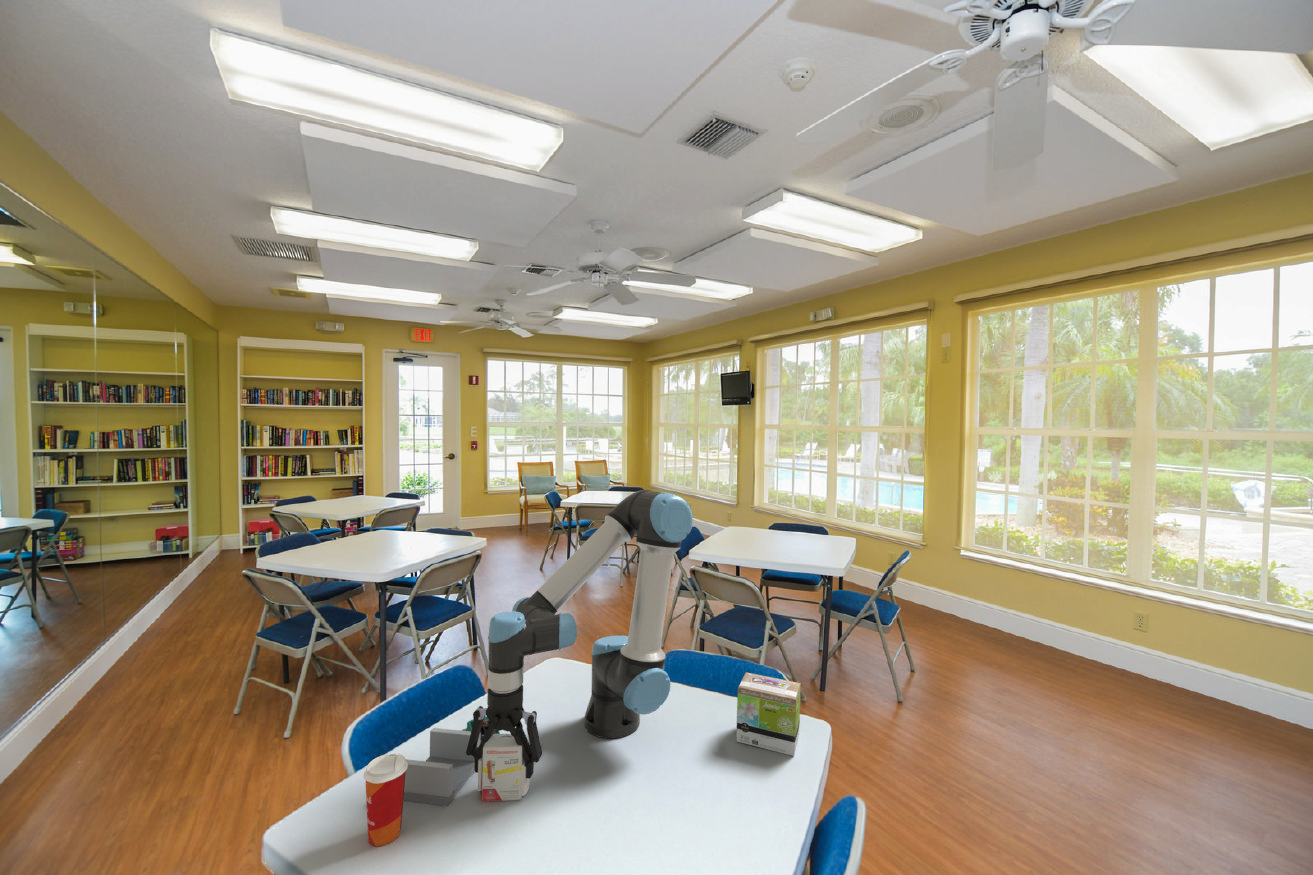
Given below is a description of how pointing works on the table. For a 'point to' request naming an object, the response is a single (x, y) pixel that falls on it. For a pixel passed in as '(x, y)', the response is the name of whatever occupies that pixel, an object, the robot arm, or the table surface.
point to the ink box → (501, 769)
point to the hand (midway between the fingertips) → (503, 789)
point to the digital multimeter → (483, 728)
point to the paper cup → (385, 797)
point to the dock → (440, 768)
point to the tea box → (768, 713)
